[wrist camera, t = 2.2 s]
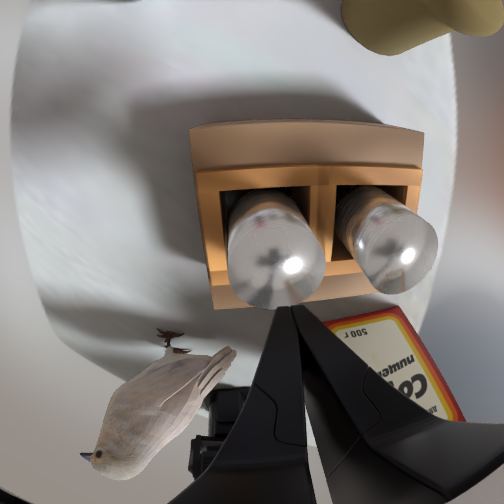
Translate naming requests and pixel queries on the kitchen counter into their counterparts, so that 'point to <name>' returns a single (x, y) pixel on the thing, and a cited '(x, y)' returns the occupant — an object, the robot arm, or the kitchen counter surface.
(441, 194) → the kitchen counter surface
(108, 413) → the bird
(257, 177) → the wooden compartment holder
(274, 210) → the steel peg
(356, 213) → the steel peg
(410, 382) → the baking soda box
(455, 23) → the olive pawn
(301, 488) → the robot arm
